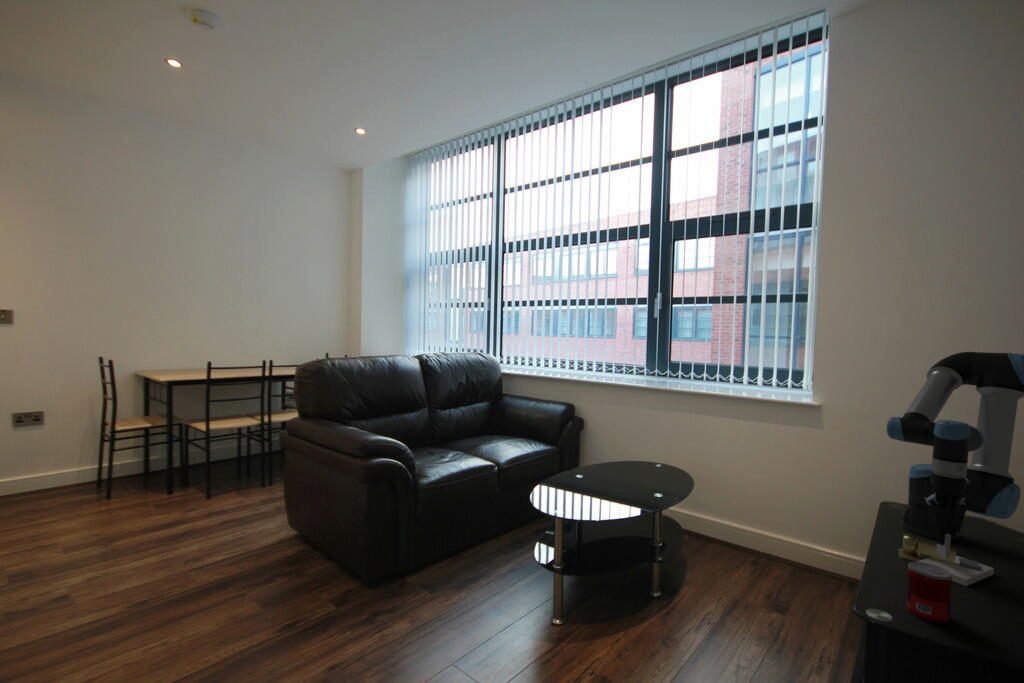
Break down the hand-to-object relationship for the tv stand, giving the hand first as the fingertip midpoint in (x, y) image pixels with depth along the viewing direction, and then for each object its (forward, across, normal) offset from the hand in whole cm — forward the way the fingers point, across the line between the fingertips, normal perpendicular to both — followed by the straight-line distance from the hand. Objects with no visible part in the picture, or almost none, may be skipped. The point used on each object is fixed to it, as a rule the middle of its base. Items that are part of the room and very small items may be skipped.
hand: (942, 555), depth 137 cm
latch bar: (+3, 0, +4) cm, 5 cm away
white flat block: (+4, +3, -1) cm, 5 cm away
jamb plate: (+4, -2, +8) cm, 9 cm away
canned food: (+5, -26, -20) cm, 33 cm away
